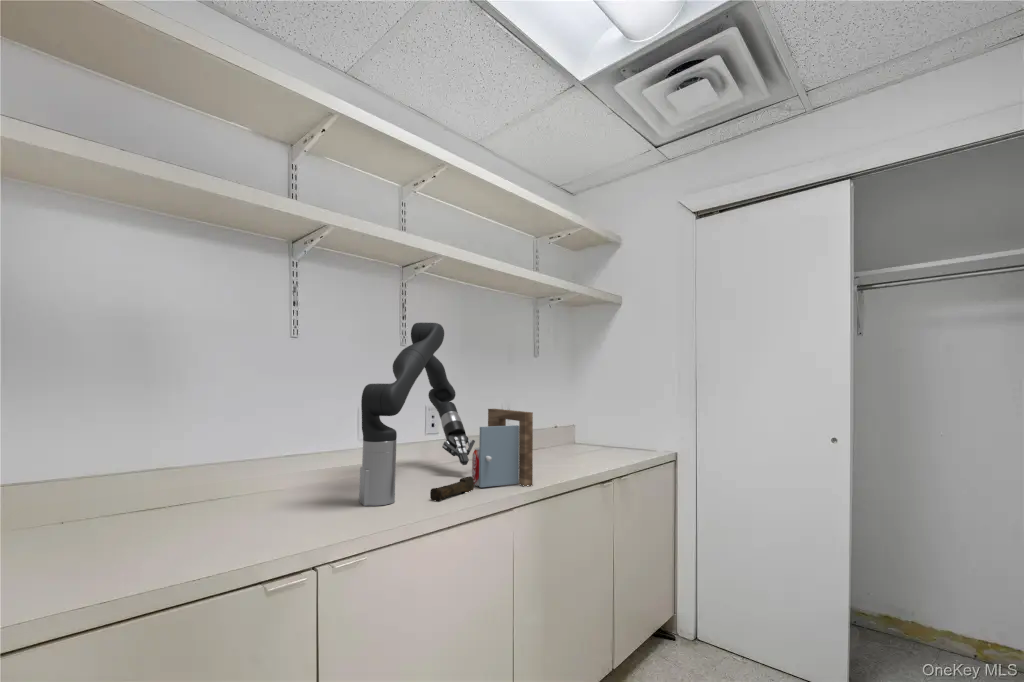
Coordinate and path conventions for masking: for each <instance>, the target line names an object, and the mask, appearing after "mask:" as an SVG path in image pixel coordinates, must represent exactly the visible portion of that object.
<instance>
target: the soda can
mask: <svg viewBox="0 0 1024 682" xmlns="http://www.w3.org/2000/svg"><path fill="white" fill-rule="evenodd" d="M471 457H472V459H471V466H472V467H471V477H472V478H473V481H474V486H475V485H476V486H475V487H478V486H479V447H475V448H474V451H473V452H472V456H471Z"/></svg>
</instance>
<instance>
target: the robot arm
mask: <svg viewBox="0 0 1024 682" xmlns="http://www.w3.org/2000/svg"><path fill="white" fill-rule="evenodd" d="M444 339H445V329H444V327H443V325H442V324H440V323H437V322H415V323H414V324H413V325H412V327H411V330H410V340H411V343H412V344H410V345H408V346H406V347H405V348H403V349H402V350H401V351H400V352H399V353H398V355H397V356H396V357H395V359H394V361H393V363H392V373H393V375H394V377H395V381H394V382H392V383H368V384H367V385H365V386H364V388H363V390H362V394H361V399H360V400H361V404H360V405H361V432H362V459H361V460H362V461H361V463H362V464H361V465H362V466H360V468H359V491H358V492H359V493H358V495H359V497H358V502H359V503H360V504H362V506H364V507H366V506H374V507H375V506H385V505H390V504H394V503H395V501H396V475H397V474H396V471H397V470H396V469H397V437H398V434H397V430H396V429H395V428H392V427H390V426H388V425H387V424H385V423H384V422H383V421H382V420H381V417H393V416H396V415H397V414H399V413H400V411H401V410H402V409H403V407H404V405H405V403H406V401H407V398H408V396H409V394H410V392H411V389H412V388H413V386H414V384H415V383H416V381H417V379H418V378H419V377H420V375H421V374H422V372H423V371H424V369H425V372H426V375H427V379H428V383H429V385H430V386H431V389H430V390H429V391H428V395H427V396H428V399H429V401H430V403H431V404H432V405H433V407H434V408H435V410H436V411H437V413H438V415H439V418H440V421H441V422H440V423H441V427H442V429H443V433H444V436H445V441H444V442H443V443H442V449H444V450H445V451H446V452H447V453H449V454H450V455H452V457H458V461H459V463H460V464H461V465H462V466H467V465H468V463H469V462H470V461H469V455H470V453H471V451H472V449H473V447H474V445H475V443H476V440H474V439H472V440H471V439H470V438H469V437H468V435H467V434H466V430H465V427H464V424H463V421H462V419H461V417H460V414H459V412H458V409H457V407H456V404H455V403H454V402H452V401H453V400H455V397H456V390H455V388H454V387H453V386H452V384H451V382H450V381H449V379H448V377H447V373H446V369H445V366H444V364H443V363H442V361H441V360H440V359H438V358H437V357H436V356H435V353H436V352H437V351H438V350H439V348H440V347H441V346H442V345H443V341H444ZM467 446H468V447H467Z"/></svg>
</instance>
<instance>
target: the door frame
mask: <svg viewBox="0 0 1024 682" xmlns="http://www.w3.org/2000/svg"><path fill="white" fill-rule="evenodd" d="M533 414H534V413H533V412H531V411H523V410H522V411H521V410H514V409H513V410H512V409H503V408H487V427H489V426H507V424H506V423H507V421H506V420H509V421H516V422H518V426H519V483H518V485H519V484H521V485H524V486H527V485H532V486H533V482H534V481H533V477H534V476H533V473H534V471H533V468H534V467H533V459H534V458H533V456H534V454H533V453H534V451H533V448H534V445H533V441H534V440H533V438H534V437H533V436H534V435H533V432H534V428H533V425H534V424H533V423H534V419H533V418H534V415H533ZM521 485H520V486H521ZM524 486H523V487H524ZM527 487H528V486H527Z"/></svg>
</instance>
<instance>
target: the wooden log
mask: <svg viewBox="0 0 1024 682" xmlns="http://www.w3.org/2000/svg"><path fill="white" fill-rule="evenodd" d="M474 487H475V485H474V481H473V478H472V475H471V476H465V477H461V478H460V479H459V481H457V482H453V483H451V484H448V485H443V486H440V487H439V486H438V487H433V488H431V489H430V493H429V494H430V496H429V497H430V500H431V501H432V500H436V501H435V502H441V501H443V500H444V499H447V498H449V497H452V496H455V495H459V494H463V493H462V492H468V493H470V492H472V491H473V490H474ZM471 490H472V491H471ZM469 491H470V492H469Z"/></svg>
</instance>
